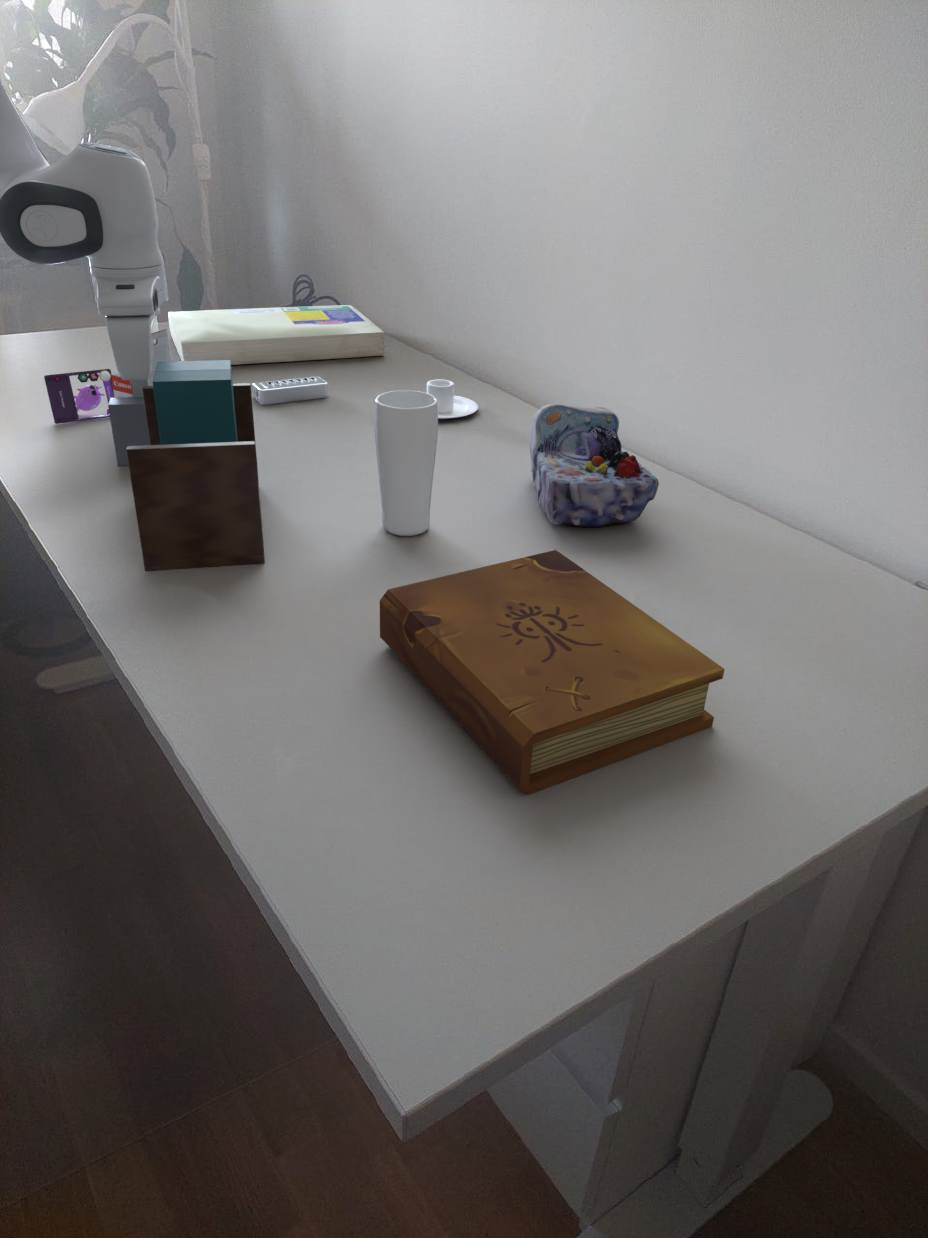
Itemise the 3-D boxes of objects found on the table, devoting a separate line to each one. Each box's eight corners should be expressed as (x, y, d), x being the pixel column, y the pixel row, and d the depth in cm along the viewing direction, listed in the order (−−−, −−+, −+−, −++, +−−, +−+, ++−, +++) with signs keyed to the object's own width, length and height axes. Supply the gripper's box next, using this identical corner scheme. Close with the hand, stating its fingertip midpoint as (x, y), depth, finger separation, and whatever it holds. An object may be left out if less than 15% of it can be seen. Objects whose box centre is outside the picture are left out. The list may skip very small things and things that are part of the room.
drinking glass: (396, 546, 102) (396, 412, 95) (365, 524, 107) (362, 395, 99) (447, 532, 106) (451, 402, 98) (414, 511, 110) (415, 386, 103)
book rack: (144, 571, 95) (126, 449, 89) (157, 492, 113) (142, 385, 106) (264, 563, 98) (255, 444, 91) (259, 487, 115) (250, 382, 109)
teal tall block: (170, 513, 105) (152, 381, 98) (173, 486, 112) (157, 361, 104) (242, 509, 107) (230, 379, 99) (241, 483, 114) (230, 359, 106)
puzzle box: (169, 336, 178) (182, 368, 159) (166, 311, 176) (178, 341, 156) (354, 327, 189) (387, 357, 170) (354, 304, 187) (387, 331, 168)
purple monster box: (44, 374, 130) (111, 368, 134) (40, 378, 135) (105, 371, 139) (55, 423, 132) (121, 415, 136) (51, 425, 136) (115, 417, 140)
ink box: (119, 447, 126) (103, 336, 118) (160, 430, 132) (147, 324, 125) (141, 452, 124) (125, 340, 117) (181, 435, 131) (169, 328, 123)
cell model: (607, 390, 118) (676, 447, 102) (597, 469, 124) (661, 536, 108) (509, 393, 115) (564, 453, 99) (503, 475, 121) (554, 544, 105)
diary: (380, 647, 84) (379, 591, 81) (550, 602, 93) (555, 549, 90) (519, 798, 67) (524, 734, 64) (712, 726, 76) (725, 666, 73)
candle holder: (384, 407, 144) (384, 379, 142) (443, 394, 151) (444, 367, 149) (434, 428, 137) (434, 399, 135) (493, 413, 144) (495, 385, 142)
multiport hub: (328, 397, 148) (328, 382, 147) (261, 405, 143) (260, 390, 142) (319, 389, 151) (318, 375, 150) (252, 397, 147) (251, 382, 145)
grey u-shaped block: (117, 465, 120) (108, 404, 116) (130, 420, 135) (121, 365, 131) (174, 463, 121) (166, 402, 117) (180, 419, 136) (173, 364, 132)
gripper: (112, 272, 126) (128, 373, 133) (95, 304, 109) (114, 419, 116) (161, 271, 127) (174, 372, 134) (151, 303, 110) (167, 417, 117)
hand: (146, 394), depth 125 cm, fingers closed on ink box, 7 cm apart
